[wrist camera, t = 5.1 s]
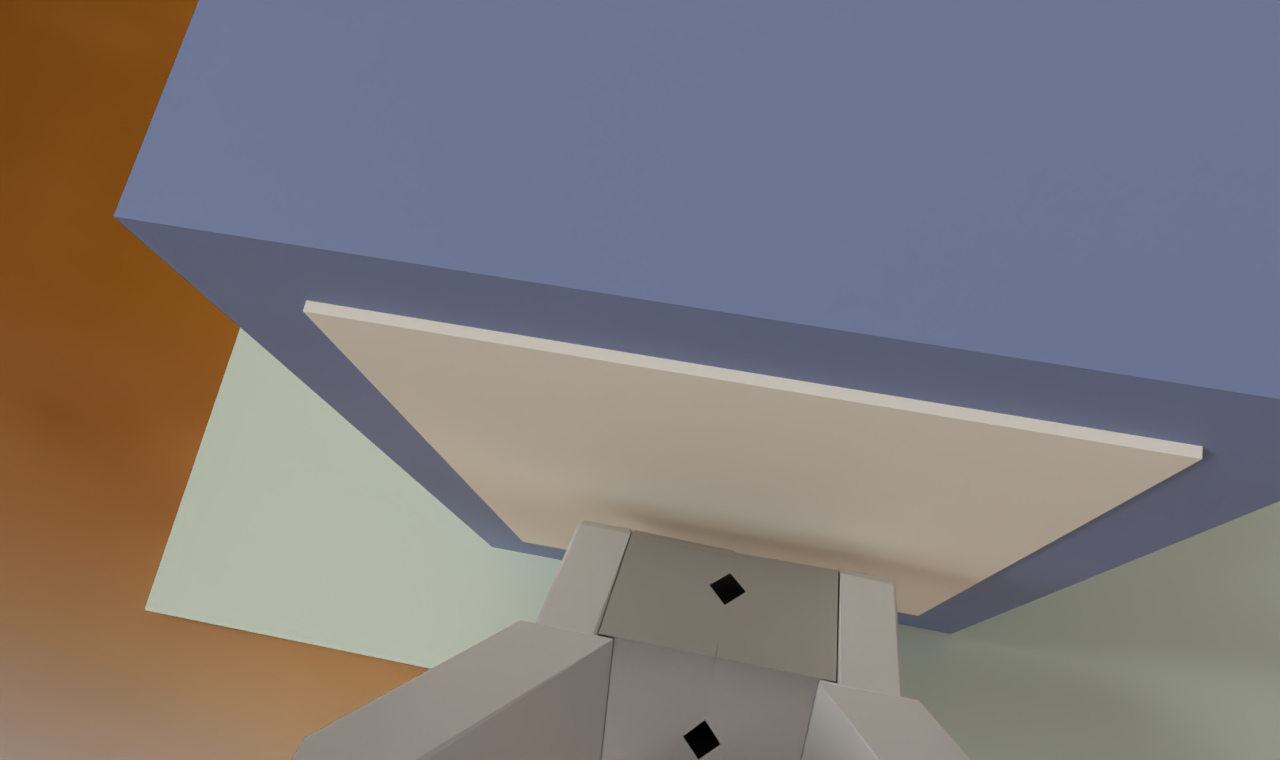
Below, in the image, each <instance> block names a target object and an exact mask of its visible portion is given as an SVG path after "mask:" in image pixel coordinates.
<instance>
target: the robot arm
mask: <svg viewBox="0 0 1280 760" xmlns="http://www.w3.org/2000/svg"><path fill="white" fill-rule="evenodd" d="M291 760H971V759H970V758H969V757H968V756H967V755H966V753H965V752H964V751H963V750H962V749H961V748H960V746H959V745H958V744H957V743H956V742H955V741H954V740H953V738H952V737H951V736H950V735H949V734H948V733H947V732H946V730H945V729H944V728H943V727H942V726H941V725H940V724H939V722H938V721H937V720H936V719H935V718H934V717H933V715H932V714H931V713H930V712H929V711H928V710H927V709H926V707H925V706H924V705H923V704H922V703H921V702H920V701H919V700H915V699H910V698H906V697H903V687H902V673H901V658H900V643H899V629H898V614H897V600H896V585H895V582H894V581H893V580H892V578H891V577H887V576H881V575H874V574H868V573H861V572H855V571H849V570H842V569H838V570H834V569H828V568H823V567H817V566H811V565H806V564H800V563H794V562H788V561H783V560H777V559H771V558H766V557H760V556H754V555H749V554H743V553H737V552H735V551H733V550H728V549H723V548H719V547H714V546H709V545H704V544H700V543H695V542H690V541H685V540H681V539H676V538H671V537H666V536H661V535H657V534H652V533H647V532H642V531H638V530H634V532H633V531H632V530H631V529H628V528H623V527H617V526H612V525H607V524H601V523H596V522H590V521H585V520H584V521H582V522H581V523H580V524H579V525H578V526H577V527H576V529H575V531H574V534H573V536H572V538H571V541H570V543H569V546H568V548H567V550H566V553H565V555H564V557H563V560H562V562H561V564H560V567H559V569H558V571H557V574H556V576H555V578H554V581H553V583H552V585H551V588H550V590H549V592H548V595H547V597H546V599H545V602H544V604H543V606H542V609H541V611H540V613H539V616H538V618H537V620H536V623H533V622H528V621H522V620H520V621H518V622H516V623H514V624H513V625H511V626H509V627H507V628H505V629H503V630H501V631H500V632H498V633H496V634H494V635H492V636H490V637H489V638H487V639H485V640H483V641H481V642H479V643H478V644H476V645H474V646H472V647H470V648H468V649H467V650H465V651H463V652H461V653H459V654H457V655H455V656H454V657H452V658H450V659H448V660H446V661H444V662H443V663H441V664H439V665H437V666H435V667H433V668H432V669H430V670H428V671H426V672H424V673H422V674H421V675H419V676H417V677H415V678H413V679H411V680H409V681H408V682H406V683H404V684H402V685H400V686H398V687H397V688H395V689H393V690H391V691H389V692H387V693H386V694H384V695H382V696H380V697H378V698H376V699H374V700H373V701H371V702H369V703H367V704H365V705H363V706H362V707H360V708H358V709H356V710H354V711H352V712H351V713H349V714H347V715H345V716H343V717H341V718H340V719H338V720H336V721H334V722H332V723H330V724H328V725H327V726H325V727H323V728H321V729H319V730H317V731H316V732H314V733H312V734H310V735H308V736H306V737H305V739H304V740H303V742H302V743H301V745H300V746H299V748H298V750H297V751H296V753H295V754H294V756H293V757H292V759H291Z"/></svg>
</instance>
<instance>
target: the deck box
mask: <svg viewBox="0 0 1280 760" xmlns="http://www.w3.org/2000/svg"><path fill="white" fill-rule="evenodd" d="M113 217H114V218H116V219H117V220H118V221H119V222H120V223H121V224H122V225H124V226H125V227H126V228H127V229H128V230H129V231H130V232H132V233H133V234H134V235H135V236H136V237H137V238H138V239H140V240H141V241H142V242H143V243H144V244H145V245H147V246H148V247H149V248H150V249H151V250H152V251H153V252H155V253H156V254H157V255H158V256H159V257H160V258H161V259H163V260H164V261H165V262H166V263H167V264H168V265H169V266H171V267H172V268H173V269H174V270H175V271H176V272H177V273H179V274H180V275H181V276H182V277H183V278H184V279H185V280H187V281H188V282H189V283H190V284H191V285H192V286H193V287H195V288H196V289H197V290H198V291H199V292H200V293H202V294H203V295H204V296H205V297H206V298H207V299H208V300H210V301H211V302H212V303H213V304H214V305H215V306H216V307H218V308H219V309H220V310H221V311H222V312H223V313H224V314H226V315H227V316H228V317H229V318H230V319H231V320H232V321H234V322H235V323H236V324H237V325H238V326H239V327H240V328H242V329H243V330H244V331H245V332H246V333H247V334H248V335H250V336H251V337H252V338H253V339H254V340H255V341H257V342H258V343H259V344H260V345H261V346H262V347H263V348H265V349H266V350H267V351H268V352H269V353H270V354H271V355H273V356H274V357H275V358H276V359H277V360H278V361H279V362H281V363H282V364H283V365H284V366H285V367H286V368H287V369H289V370H290V371H291V372H292V373H293V374H294V375H295V376H297V377H298V378H299V379H300V380H301V381H302V382H303V383H305V384H306V385H307V386H308V387H309V388H310V389H312V390H313V391H314V392H315V393H316V394H317V395H318V396H320V397H321V398H322V399H323V400H324V401H325V402H326V403H328V404H329V405H330V406H331V407H332V408H333V409H334V410H336V411H337V412H338V413H339V414H340V415H341V416H342V417H344V418H345V419H346V420H347V421H348V422H349V423H350V424H352V425H353V426H354V427H355V428H356V429H357V430H358V431H360V432H361V433H362V434H363V435H364V436H365V437H367V438H368V439H369V440H370V441H371V442H372V443H373V444H375V445H376V446H377V447H378V448H379V449H380V450H381V451H383V452H384V453H385V454H386V455H387V456H388V457H389V458H391V459H392V460H393V461H394V462H395V463H396V464H397V465H399V466H400V467H401V468H402V469H403V470H404V471H405V472H407V473H408V474H409V475H410V476H411V477H412V478H413V479H415V480H416V481H417V482H418V483H419V484H420V485H422V486H423V487H424V488H425V489H426V490H427V491H428V492H430V493H431V494H432V495H433V496H434V497H435V498H436V499H438V500H439V501H440V502H441V503H442V504H443V505H444V506H446V507H447V508H448V509H449V510H450V511H451V512H452V513H454V514H455V515H456V516H457V517H458V518H459V519H460V520H462V521H463V522H464V523H465V524H466V525H467V526H468V527H470V528H471V529H472V530H473V531H474V532H475V533H477V534H478V535H479V536H480V537H481V538H482V539H483V540H485V541H486V542H487V543H488V544H489V545H490V546H491V547H494V548H500V549H505V550H510V551H516V552H521V553H526V554H532V555H537V556H542V557H547V558H553V559H558V560H563V557H564V555H565V553H566V550H567V548H568V546H569V543H570V541H571V538H572V536H573V534H574V531H575V529H576V527H577V526H578V525H579V524H580V523H581V522H582V521H584V520H585V521H590V522H596V523H601V524H607V525H612V526H617V527H623V528H628V529H631V530H632V531H633V532H634V530H638V531H642V532H647V533H652V534H657V535H661V536H666V537H671V538H676V539H681V540H685V541H690V542H695V543H700V544H704V545H709V546H714V547H719V548H723V549H728V550H733V551H735V552H737V553H743V554H749V555H754V556H760V557H766V558H771V559H777V560H783V561H788V562H794V563H800V564H806V565H811V566H817V567H823V568H828V569H834V570H838V569H842V570H849V571H855V572H861V573H868V574H874V575H881V576H887V577H891V578H892V580H893V581H894V582H895V585H896V600H897V614H898V624H902V625H907V626H913V627H918V628H923V629H929V630H934V631H939V632H944V633H950V634H952V633H955V632H957V631H960V630H962V629H965V628H967V627H970V626H972V625H975V624H977V623H980V622H982V621H984V620H987V619H989V618H992V617H994V616H997V615H999V614H1002V613H1004V612H1007V611H1009V610H1012V609H1014V608H1017V607H1019V606H1022V605H1024V604H1027V603H1029V602H1031V601H1034V600H1036V599H1039V598H1041V597H1044V596H1046V595H1049V594H1051V593H1054V592H1056V591H1059V590H1061V589H1064V588H1066V587H1069V586H1071V585H1074V584H1076V583H1078V582H1081V581H1083V580H1086V579H1088V578H1091V577H1093V576H1096V575H1098V574H1101V573H1103V572H1106V571H1108V570H1111V569H1113V568H1116V567H1118V566H1121V565H1123V564H1125V563H1128V562H1130V561H1133V560H1135V559H1138V558H1140V557H1143V556H1145V555H1148V554H1150V553H1153V552H1155V551H1158V550H1160V549H1163V548H1165V547H1168V546H1170V545H1172V544H1175V543H1177V542H1180V541H1182V540H1185V539H1187V538H1190V537H1192V536H1195V535H1197V534H1200V533H1202V532H1205V531H1207V530H1210V529H1212V528H1215V527H1217V526H1219V525H1222V524H1224V523H1227V522H1229V521H1232V520H1234V519H1237V518H1239V517H1242V516H1244V515H1247V514H1249V513H1252V512H1254V511H1257V510H1259V509H1262V508H1264V507H1267V506H1269V505H1271V504H1274V503H1276V502H1279V501H1280V0H199V2H198V4H197V7H196V9H195V12H194V14H193V17H192V19H191V22H190V24H189V27H188V29H187V32H186V34H185V37H184V39H183V42H182V44H181V47H180V49H179V52H178V55H177V57H176V60H175V62H174V65H173V67H172V70H171V72H170V75H169V77H168V80H167V82H166V85H165V87H164V90H163V92H162V95H161V97H160V100H159V102H158V105H157V108H156V110H155V113H154V115H153V118H152V120H151V123H150V125H149V128H148V130H147V133H146V135H145V138H144V140H143V143H142V145H141V148H140V150H139V153H138V155H137V158H136V161H135V163H134V166H133V168H132V171H131V173H130V176H129V178H128V181H127V183H126V186H125V188H124V191H123V193H122V196H121V198H120V201H119V203H118V206H117V208H116V211H115V213H114V216H113Z"/></svg>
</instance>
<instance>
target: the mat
mask: <svg viewBox="0 0 1280 760" xmlns="http://www.w3.org/2000/svg"><path fill="white" fill-rule="evenodd" d="M561 562H562V560H558V559H553V558H547V557H542V556H537V555H532V554H526V553H521V552H516V551H510V550H505V549H500V548H494V547H491V546H490V545H489V544H488V543H487V542H486V541H485V540H483V539H482V538H481V537H480V536H479V535H478V534H477V533H475V532H474V531H473V530H472V529H471V528H470V527H468V526H467V525H466V524H465V523H464V522H463V521H462V520H460V519H459V518H458V517H457V516H456V515H455V514H454V513H452V512H451V511H450V510H449V509H448V508H447V507H446V506H444V505H443V504H442V503H441V502H440V501H439V500H438V499H436V498H435V497H434V496H433V495H432V494H431V493H430V492H428V491H427V490H426V489H425V488H424V487H423V486H422V485H420V484H419V483H418V482H417V481H416V480H415V479H413V478H412V477H411V476H410V475H409V474H408V473H407V472H405V471H404V470H403V469H402V468H401V467H400V466H399V465H397V464H396V463H395V462H394V461H393V460H392V459H391V458H389V457H388V456H387V455H386V454H385V453H384V452H383V451H381V450H380V449H379V448H378V447H377V446H376V445H375V444H373V443H372V442H371V441H370V440H369V439H368V438H367V437H365V436H364V435H363V434H362V433H361V432H360V431H358V430H357V429H356V428H355V427H354V426H353V425H352V424H350V423H349V422H348V421H347V420H346V419H345V418H344V417H342V416H341V415H340V414H339V413H338V412H337V411H336V410H334V409H333V408H332V407H331V406H330V405H329V404H328V403H326V402H325V401H324V400H323V399H322V398H321V397H320V396H318V395H317V394H316V393H315V392H314V391H313V390H312V389H310V388H309V387H308V386H307V385H306V384H305V383H303V382H302V381H301V380H300V379H299V378H298V377H297V376H295V375H294V374H293V373H292V372H291V371H290V370H289V369H287V368H286V367H285V366H284V365H283V364H282V363H281V362H279V361H278V360H277V359H276V358H275V357H274V356H273V355H271V354H270V353H269V352H268V351H267V350H266V349H265V348H263V347H262V346H261V345H260V344H259V343H258V342H257V341H255V340H254V339H253V338H252V337H251V336H250V335H248V334H247V333H246V332H245V331H244V330H243V329H242V328H240V330H239V333H238V336H237V339H236V342H235V345H234V348H233V351H232V354H231V357H230V360H229V362H228V365H227V368H226V371H225V374H224V377H223V380H222V383H221V386H220V389H219V392H218V395H217V398H216V401H215V404H214V407H213V410H212V413H211V415H210V418H209V421H208V424H207V427H206V430H205V433H204V436H203V439H202V442H201V445H200V448H199V451H198V454H197V457H196V460H195V463H194V465H193V468H192V471H191V474H190V477H189V480H188V483H187V486H186V489H185V492H184V495H183V498H182V501H181V504H180V507H179V510H178V513H177V516H176V518H175V521H174V524H173V527H172V530H171V533H170V536H169V539H168V542H167V545H166V548H165V551H164V554H163V557H162V560H161V563H160V566H159V568H158V571H157V574H156V577H155V580H154V583H153V586H152V589H151V592H150V595H149V598H148V601H147V604H146V607H145V610H147V611H152V612H156V613H161V614H166V615H171V616H176V617H180V618H185V619H190V620H195V621H200V622H205V623H210V624H215V625H219V626H224V627H229V628H234V629H239V630H244V631H249V632H254V633H259V634H263V635H268V636H273V637H278V638H283V639H288V640H293V641H298V642H302V643H307V644H312V645H317V646H322V647H327V648H332V649H337V650H341V651H346V652H351V653H356V654H361V655H366V656H371V657H376V658H380V659H385V660H390V661H395V662H400V663H405V664H410V665H415V666H419V667H424V668H429V669H432V668H433V667H435V666H437V665H439V664H441V663H443V662H444V661H446V660H448V659H450V658H452V657H454V656H455V655H457V654H459V653H461V652H463V651H465V650H467V649H468V648H470V647H472V646H474V645H476V644H478V643H479V642H481V641H483V640H485V639H487V638H489V637H490V636H492V635H494V634H496V633H498V632H500V631H501V630H503V629H505V628H507V627H509V626H511V625H513V624H514V623H516V622H518V621H520V620H522V621H528V622H533V623H536V620H537V618H538V616H539V613H540V611H541V609H542V606H543V604H544V602H545V599H546V597H547V595H548V592H549V590H550V588H551V585H552V583H553V581H554V578H555V576H556V574H557V571H558V569H559V567H560V564H561ZM898 629H899V643H900V658H901V673H902V687H903V697H906V698H910V699H915V700H919V701H920V702H921V703H922V704H923V705H924V706H925V707H926V709H927V710H928V711H929V712H930V713H931V714H932V715H933V717H934V718H935V719H936V720H937V721H938V722H939V724H940V725H941V726H942V727H943V728H944V729H945V730H946V732H947V733H948V734H949V735H950V736H951V737H952V738H953V740H954V741H955V742H956V743H957V744H958V745H959V746H960V748H961V749H962V750H963V751H964V752H965V753H966V755H967V756H968V757H969V758H970V759H971V760H1280V501H1279V502H1276V503H1274V504H1271V505H1269V506H1267V507H1264V508H1262V509H1259V510H1257V511H1254V512H1252V513H1249V514H1247V515H1244V516H1242V517H1239V518H1237V519H1234V520H1232V521H1229V522H1227V523H1224V524H1222V525H1219V526H1217V527H1215V528H1212V529H1210V530H1207V531H1205V532H1202V533H1200V534H1197V535H1195V536H1192V537H1190V538H1187V539H1185V540H1182V541H1180V542H1177V543H1175V544H1172V545H1170V546H1168V547H1165V548H1163V549H1160V550H1158V551H1155V552H1153V553H1150V554H1148V555H1145V556H1143V557H1140V558H1138V559H1135V560H1133V561H1130V562H1128V563H1125V564H1123V565H1121V566H1118V567H1116V568H1113V569H1111V570H1108V571H1106V572H1103V573H1101V574H1098V575H1096V576H1093V577H1091V578H1088V579H1086V580H1083V581H1081V582H1078V583H1076V584H1074V585H1071V586H1069V587H1066V588H1064V589H1061V590H1059V591H1056V592H1054V593H1051V594H1049V595H1046V596H1044V597H1041V598H1039V599H1036V600H1034V601H1031V602H1029V603H1027V604H1024V605H1022V606H1019V607H1017V608H1014V609H1012V610H1009V611H1007V612H1004V613H1002V614H999V615H997V616H994V617H992V618H989V619H987V620H984V621H982V622H980V623H977V624H975V625H972V626H970V627H967V628H965V629H962V630H960V631H957V632H955V633H952V634H950V633H944V632H939V631H934V630H929V629H923V628H918V627H913V626H907V625H902V624H898Z"/></svg>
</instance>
